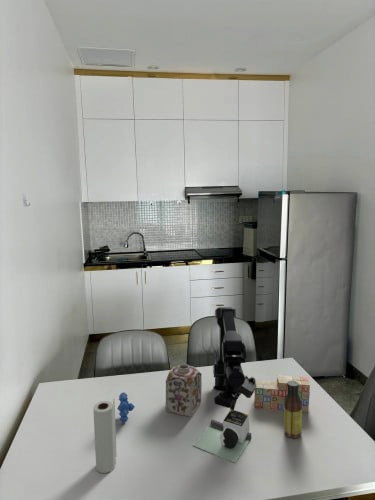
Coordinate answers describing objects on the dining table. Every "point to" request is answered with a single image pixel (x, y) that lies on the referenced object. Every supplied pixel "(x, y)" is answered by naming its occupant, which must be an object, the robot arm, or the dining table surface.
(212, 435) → the pale green flat panel
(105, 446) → the paper towel roll
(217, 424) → the strip
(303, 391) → the stack of blocks
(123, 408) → the grapes
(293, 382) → the sauce bottle
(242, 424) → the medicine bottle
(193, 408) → the decorative jar
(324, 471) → the dining table surface
